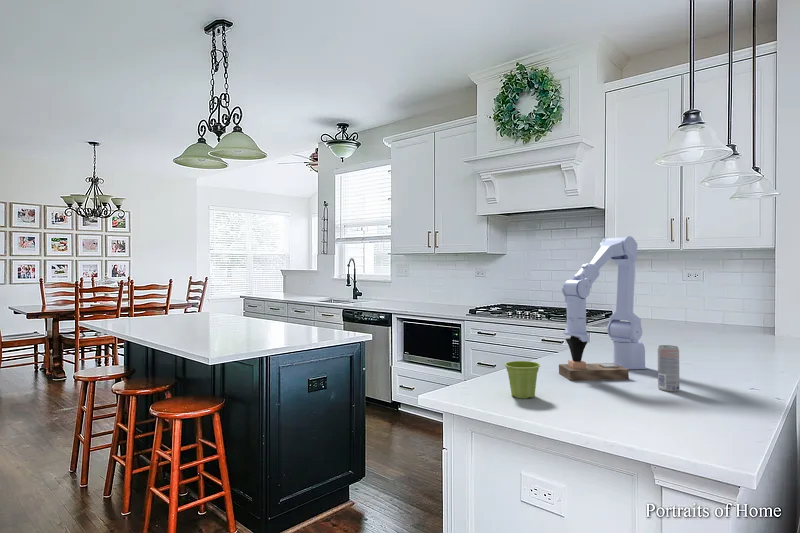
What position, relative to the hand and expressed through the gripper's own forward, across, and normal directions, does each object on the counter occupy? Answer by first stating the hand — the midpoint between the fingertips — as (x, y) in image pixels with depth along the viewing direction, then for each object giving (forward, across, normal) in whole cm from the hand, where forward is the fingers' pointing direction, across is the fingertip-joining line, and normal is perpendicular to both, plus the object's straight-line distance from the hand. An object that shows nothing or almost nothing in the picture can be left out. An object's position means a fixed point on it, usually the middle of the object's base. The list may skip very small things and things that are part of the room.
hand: (576, 361), depth 162 cm
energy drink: (+5, +18, +19) cm, 27 cm away
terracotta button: (+3, 0, 0) cm, 3 cm away
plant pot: (+5, +21, -23) cm, 32 cm away
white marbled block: (+4, 0, +10) cm, 11 cm away
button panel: (+5, 0, +5) cm, 7 cm away
